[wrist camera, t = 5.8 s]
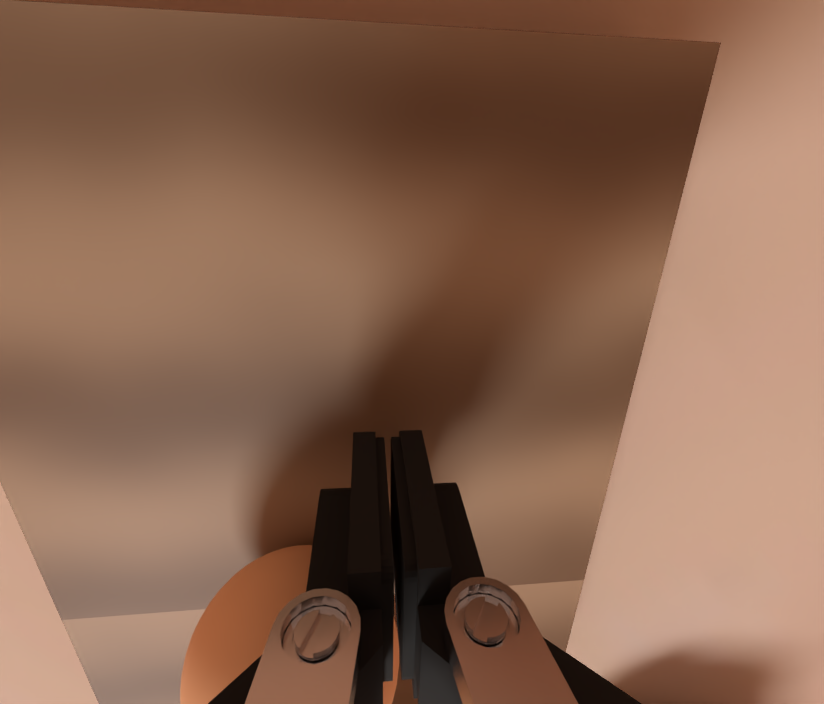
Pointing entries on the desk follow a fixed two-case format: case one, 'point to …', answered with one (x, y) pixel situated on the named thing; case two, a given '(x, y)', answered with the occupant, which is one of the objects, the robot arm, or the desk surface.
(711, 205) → the desk surface
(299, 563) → the ball
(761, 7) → the desk surface
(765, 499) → the desk surface
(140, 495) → the board
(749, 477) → the desk surface
